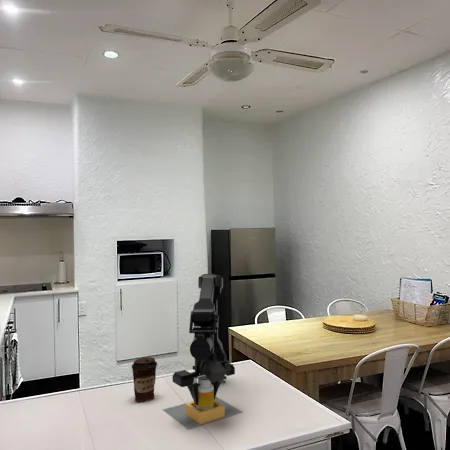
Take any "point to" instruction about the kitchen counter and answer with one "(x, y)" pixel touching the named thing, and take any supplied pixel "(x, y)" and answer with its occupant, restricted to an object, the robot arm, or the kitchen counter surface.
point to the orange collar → (204, 412)
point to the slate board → (189, 423)
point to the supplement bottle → (205, 394)
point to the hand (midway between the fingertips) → (204, 402)
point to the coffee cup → (144, 378)
